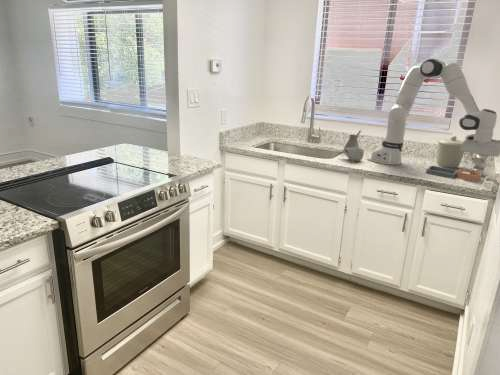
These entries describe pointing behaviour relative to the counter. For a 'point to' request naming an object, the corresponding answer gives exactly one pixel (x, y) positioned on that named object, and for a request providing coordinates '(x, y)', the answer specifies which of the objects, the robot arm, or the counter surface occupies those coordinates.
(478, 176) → the terracotta bowl
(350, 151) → the teacup
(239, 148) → the counter surface
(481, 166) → the silver metal bottle
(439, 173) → the slate tray
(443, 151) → the canister
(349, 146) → the coffee pot
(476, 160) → the cream matte cube
